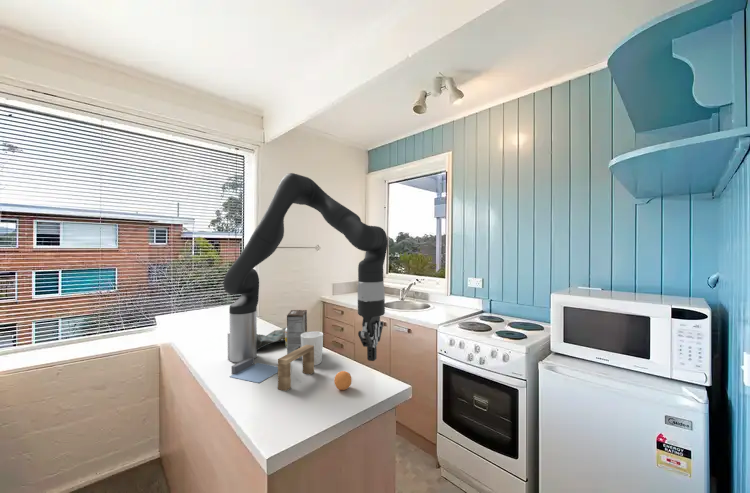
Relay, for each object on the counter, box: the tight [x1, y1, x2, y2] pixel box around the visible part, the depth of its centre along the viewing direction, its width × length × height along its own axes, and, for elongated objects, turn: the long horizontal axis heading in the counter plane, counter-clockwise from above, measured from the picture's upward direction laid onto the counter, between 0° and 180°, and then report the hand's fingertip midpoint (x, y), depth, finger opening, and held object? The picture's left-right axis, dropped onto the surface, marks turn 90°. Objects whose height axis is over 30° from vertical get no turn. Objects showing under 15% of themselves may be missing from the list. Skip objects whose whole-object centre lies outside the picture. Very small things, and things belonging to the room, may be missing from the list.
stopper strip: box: [231, 358, 255, 375], centre depth 102 cm, size 2×8×2 cm, turn 158°
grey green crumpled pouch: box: [257, 326, 287, 351], centre depth 129 cm, size 13×7×25 cm
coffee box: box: [286, 309, 308, 359], centre depth 116 cm, size 9×6×16 cm
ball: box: [333, 370, 353, 391], centre depth 87 cm, size 5×5×5 cm
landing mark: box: [229, 362, 278, 384], centre depth 99 cm, size 12×12×1 cm
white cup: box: [301, 330, 324, 366], centre depth 108 cm, size 8×8×10 cm
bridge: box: [277, 345, 315, 392], centre depth 93 cm, size 3×14×9 cm, turn 158°
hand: (371, 359), depth 84 cm, fingers closed
